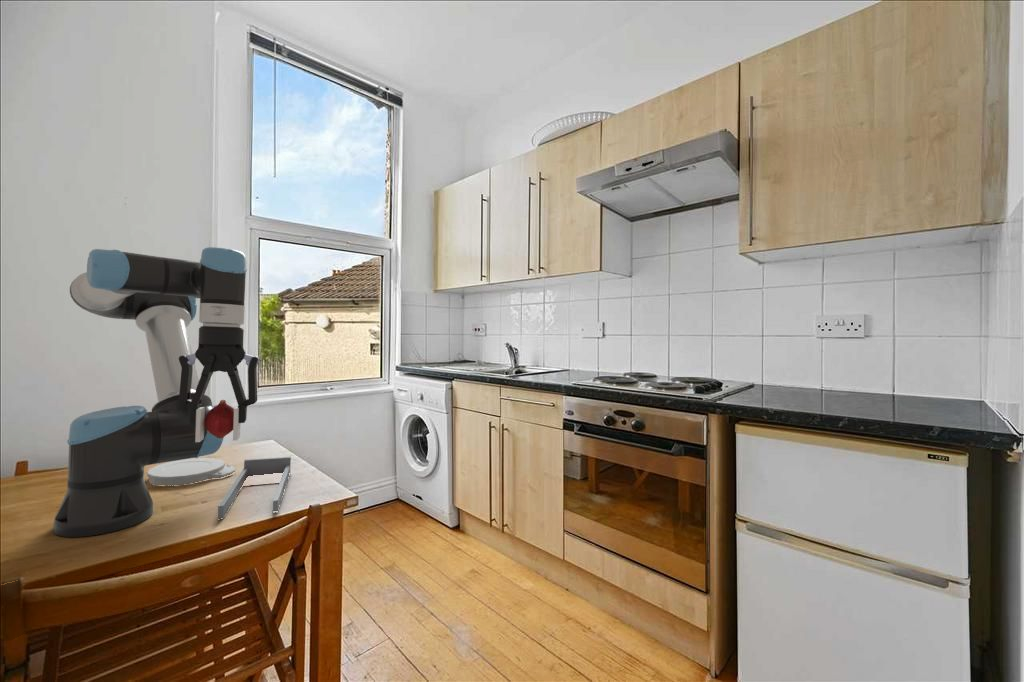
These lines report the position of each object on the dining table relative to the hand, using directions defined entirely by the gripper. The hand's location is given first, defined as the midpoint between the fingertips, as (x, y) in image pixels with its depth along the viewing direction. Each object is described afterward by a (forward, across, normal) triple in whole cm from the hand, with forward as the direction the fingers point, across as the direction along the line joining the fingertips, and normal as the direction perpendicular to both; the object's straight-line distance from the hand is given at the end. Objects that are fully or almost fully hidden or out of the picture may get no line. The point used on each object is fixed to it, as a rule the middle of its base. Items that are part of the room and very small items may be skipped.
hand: (218, 439), depth 87 cm
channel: (+19, +5, +20) cm, 28 cm away
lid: (+19, -14, +40) cm, 47 cm away
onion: (0, 0, +2) cm, 2 cm away
